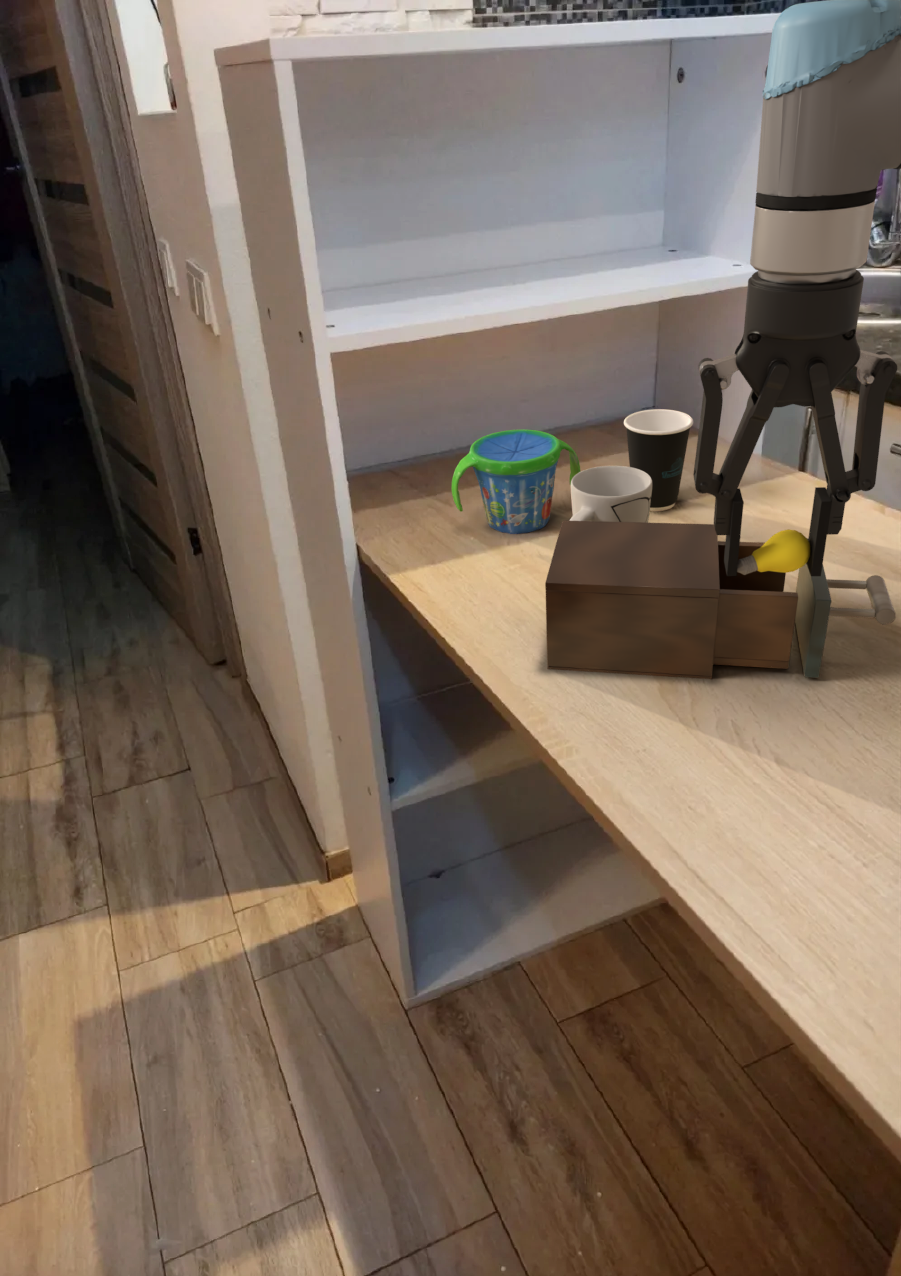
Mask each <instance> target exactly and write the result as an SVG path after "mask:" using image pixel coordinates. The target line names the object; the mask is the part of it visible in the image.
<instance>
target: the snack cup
mask: <svg viewBox="0 0 901 1276" xmlns="http://www.w3.org/2000/svg"><path fill="white" fill-rule="evenodd" d="M563 450H566V451H568V457H569V471H570V473H569V486H570V487H571V481H572V478H573V477H574V476H575V475H576V474H578V473H579V472H581V471H582V470H581V465H580V459H579V457H578V455H577V453H576V451H575V450H574V449H573V448H572V446H570V445H569V444H568V443H566V442H565V441H563V440H562V439H559V438H557V437H556V436H554V435H553V434H551V433H548V432H545V431H541V430H535V429H509V430H502V431H498V432H497V431H496V432H492V433H489V434H487V435H486V434H485V435H484V436H481V437H480V438H477V439H476V440H475V441H474V442H473V443H472V444H471V445H470V448H469V452H468V453H467V454H466V455H465V456H464V457H462V459H460V460H459V461H458V464H457V466H456V467H455V468H454V471H453V475H452V479H451V496H452V499H453V502H454V504H455V507H456V508H457V510H458V511H459V512H460V513H462V512H464V509H463V505H462V502H461V494H460V491H459V483H460V479H461V478H462V477H463V475H464V474H465V473H466V471H468V469H469V468H471V467H472V468H473V469H472V470H473V471H474V474H475V477H476V478H477V483H478V486H479V491H480V496H481V499H482V504H483V509H484V513H485V518H486V521H487V524H488V525H489V528H491V529H493V530H495V531H497V532H500V533H504V534H510V535H521V534H528V533H533V532H535V531H538V530H542V529H543V528H544V527H546V525H547V524H548V522H549V521H550V518H551V511H552V504H553V495H554V490H555V480H556V472H557V471H556V470H557V466H558V462H559V460H560V457H561V452H562V451H563Z"/></svg>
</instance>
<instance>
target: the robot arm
mask: <svg viewBox="0 0 901 1276" xmlns="http://www.w3.org/2000/svg"><path fill="white" fill-rule="evenodd" d="M761 108H762V110H761V121H760V134H759V135H760V137H759V150H758V162H757V163H758V164H757V175H756V176H757V178H756V188H755V189H756V191H755V192H756V193H755V202H754V203H755V207H754V217H753V225H752V226H753V227H752V236H751V237H752V238H751V248H750V258H749V259H750V260H749V265H751V267H752V268H753V269H754V270H756V271H755V272H754V273H752V275H751V276H750V277H748V280H747V288H746V289H747V290H746V301H745V313H744V325H743V333H742V336H741V340H740V342H739V344H738V345H737V347H736V348H735V350H734V353H732V354H730V355H727V356H723V357H720V358H717V359H714V360H713V358H711V357H705V358H703V359H701V360H700V361H699V363H698V365H697V367H698V373H699V376H700V381H701V384H702V388H703V394H702V400H701V401H702V402H701V410H700V416H699V425H698V434H697V441H696V450H695V458H694V467H693V481H694V487H695V491H696V492H697V493H699V494H708V495H712V496H713V497H715V499H714V513H713V524H714V527H715V531H716V534H717V535H718V536H725V541H726V542H725V554H724V564H725V569H726V574H727V576H737V566H738V556H739V545H740V542H741V533H742V525H743V524H742V523H743V513H744V499H743V496H742V491H741V488H740V487H739V486H740V483H741V481H742V479H743V476H744V475H745V472H746V469H747V467H748V465H749V462H750V460H751V458H752V456H753V453H754V451H755V448H756V445H757V444H758V441H759V439H760V438H761V437H760V436H761V434H762V432H763V431H764V427H765V425H766V423H767V422H768V421H769V420H770V417H771V416H772V413H773V411H774V408H784V407H788V406H792V405H795V406H799V407H805V408H806V407H810V408H811V412H812V416H813V423H814V426H815V432H816V437H817V442H818V446H819V453H820V456H821V462H822V467H823V473H824V476H825V482H826V486H825V487H824V486H823V487H822V486H820V487H819V486H818V487H817V486H816V487H814V495H813V501H812V502H813V503H812V509H811V517H810V524H809V530H808V531H809V532H808V537H807V538H808V541H809V543H810V547H811V551H810V557H809V559H808V561H807V563H806V564H807V567H808V569H809V572H810V575H811V576H821V572H822V565H823V566H824V558H825V549H826V543H827V538H828V537H827V536H828V535H831V536H832V535H834V536H835V535H839V533H840V532H841V530H842V526H843V521H844V520H843V519H844V514H845V508H846V503H848V502H850V500H851V497H852V496H851V495H852V494H853V493H855V492H856V493H857V492H859V491H862V492H869V491H871V490H873V489H874V488H875V485H876V481H877V472H878V463H879V454H880V447H881V437H882V428H883V420H884V419H883V418H884V411H885V402H886V394H887V392H888V390H889V388H890V386H891V383H892V381H893V379H894V377H895V375H896V374H897V372H898V365H897V362H896V361H895V360H894V359H893V358H892V357H891V355H889V353H888V352H886V351H877V352H875V353H874V352H870V351H867V350H863V349H861V348H860V345H859V343H858V340H857V328H858V322H859V313H860V308H861V303H862V302H861V301H862V295H863V288H864V282H865V281H864V280H865V279H864V276H863V275H862V273H861V272H860V271H859V270H858V269H859V268H861V267H862V266H863V265H864V264H866V263H867V260H868V254H869V248H870V239H871V233H872V232H871V231H872V224H873V218H874V211H875V203H876V199H877V192H878V184H879V181H880V176H881V172H882V171H883V170H901V0H818V1H817V0H816V1H809V2H801V3H795V4H793V5H790V6H788V7H787V8H785V9H784V10H783V11H782V12H781V13H780V14H779V16H778V17H777V19H775V21H774V24H773V27H772V31H771V38H770V45H769V53H768V62H767V68H766V77H765V85H764V88H763V90H762V107H761ZM854 367H855V368H857V370H856V377H857V379H858V381H859V383H860V387H859V392H858V393H859V394H858V404H857V413H856V414H857V415H856V423H855V424H856V425H855V434H854V445H853V455H852V466H851V469H850V470H847V471H846V468H845V462H844V457H843V452H842V446H841V441H840V436H839V431H838V425H837V420H836V409H835V404H834V399H833V394H832V393H833V391H834V390H835V389H836V388H837V386H838V385H839V384H840V383H841V382H842V381H843V380H844V379H845V378H846V376H848V374H849V373H850V372H851V371H852V370H853V369H854ZM738 371H739V372H740V374H741V375H742V376H743V378H744V380H745V382H746V383H747V384H748V385H749V387H750V389H751V391H750V393H749V396H748V398H747V401H746V405H745V406H746V407H745V409H744V412H743V415H742V417H741V419H740V422H739V424H738V426H737V429H736V431H735V433H734V435H733V439H732V441H731V443H730V445H729V449H728V451H727V453H726V456H725V458H724V461H723V463H722V465H721V468H720V470H719V473H715V471H714V470H715V461H716V455H717V450H718V449H717V447H718V440H719V433H720V427H721V425H720V424H721V418H722V410H723V402H724V401H723V400H724V399H723V391H724V390H726V389H728V388H730V386H731V383H732V377H733V375H734V373H736V372H738Z"/></svg>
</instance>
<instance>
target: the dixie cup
mask: <svg viewBox="0 0 901 1276" xmlns="http://www.w3.org/2000/svg"><path fill="white" fill-rule="evenodd" d="M623 425H624V427H625V428H626V438H627V439H626V441H627V452H628V453H627V454H628V463H629V467H632V468H636V469H639V470H642V471H644V472H645V473H647V474H648V475H649V476H650V477H651V479H652V494H651V503H650V512H662V511H663V512H664V511H666V510H670V509H672V508H673V507H674V506H675V505H676V503H677V501H678V499H679V493H680V487H681V481H682V476H683V470H684V464H685V459H686V453H687V447H688V442H689V436H690V432H691V431H690V430H691V427H692V426H693V425H694V419H693V417H691V416H690V415H689V414H688V413H686V412H683V411H679V410H675V409H674V410H673V409H663V408H662V409H661V408H655V409H645V410H639V411H635V412H634V413H631V414H628V415H627V416H626V417H625V419H624V420H623Z"/></svg>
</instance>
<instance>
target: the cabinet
mask: <svg viewBox="0 0 901 1276" xmlns="http://www.w3.org/2000/svg"><path fill="white" fill-rule="evenodd" d="M718 536H719V535H717V534H716V531H715V527H714V523H681V522H680V523H678V522H648V523H643V522H604V521H569V520H561V524H560V529H559V531H558V535H557V538H556V542H555V547H554V550H553V553H552V557H551V561H550V563H549V567H548V570H547V571H548V572H547V575H546V579H545V583H544V584H545V587H544V588H545V623H546V624H545V626H546V629H545V630H546V665H547V670H551V671H552V670H553V671H555V670H556V671H571V672H587V673H600V674H601V673H602V674H603V673H604V674H620V675H634V676H635V675H636V676H653V677H666V678H668V677H669V678H683V679H684V678H685V679H700V680H701V679H702V680H712V679H713V671H714V670H713V669H714V664H713V660H714V649H715V638H716V627H717V615H718V604H719V594H720V582H719V558H718V541H719V537H718Z"/></svg>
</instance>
